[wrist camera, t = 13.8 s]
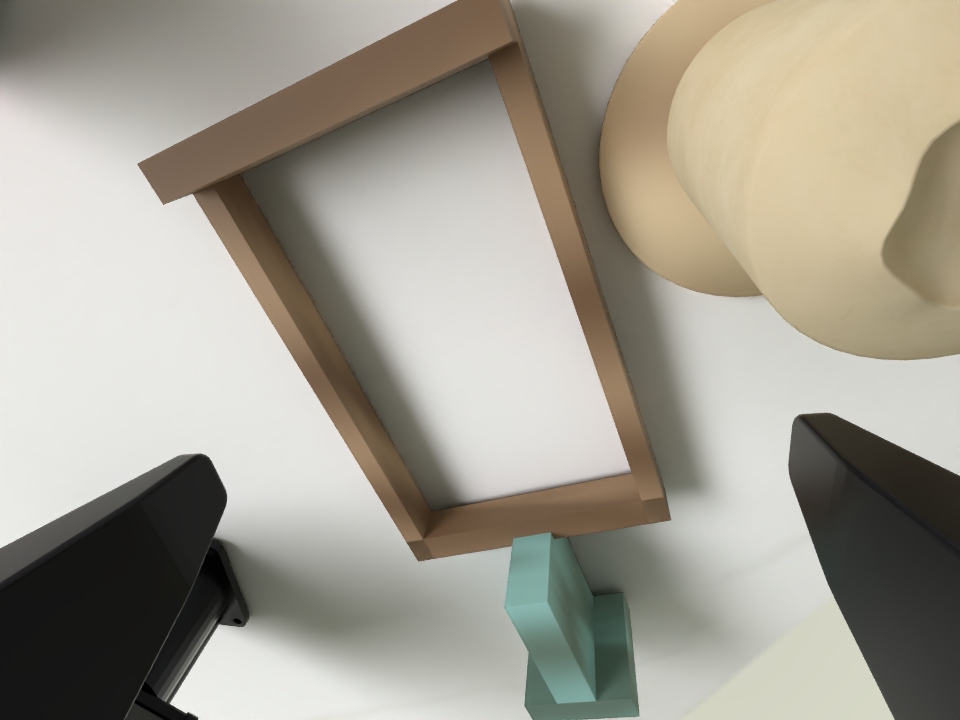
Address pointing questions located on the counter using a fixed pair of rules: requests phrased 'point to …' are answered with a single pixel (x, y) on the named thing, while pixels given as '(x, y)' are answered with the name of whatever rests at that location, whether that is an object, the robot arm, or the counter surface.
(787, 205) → the candle
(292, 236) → the counter surface
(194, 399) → the counter surface
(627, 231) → the coaster
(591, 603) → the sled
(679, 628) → the counter surface
